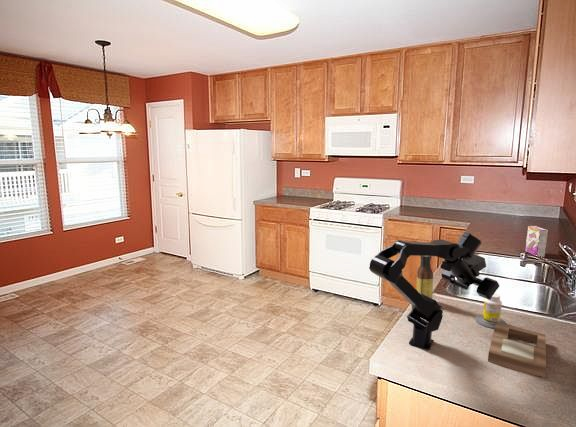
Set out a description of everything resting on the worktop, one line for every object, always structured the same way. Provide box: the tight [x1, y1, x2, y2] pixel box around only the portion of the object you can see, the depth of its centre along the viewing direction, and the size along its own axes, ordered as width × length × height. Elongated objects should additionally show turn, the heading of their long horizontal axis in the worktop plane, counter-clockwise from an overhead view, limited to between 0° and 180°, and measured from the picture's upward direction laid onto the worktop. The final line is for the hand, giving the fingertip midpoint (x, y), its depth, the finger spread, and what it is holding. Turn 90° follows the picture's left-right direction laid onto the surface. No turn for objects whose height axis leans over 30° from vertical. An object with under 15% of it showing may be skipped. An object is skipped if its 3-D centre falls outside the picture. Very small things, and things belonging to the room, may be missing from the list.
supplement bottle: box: [482, 292, 503, 324], centre depth 130 cm, size 6×6×10 cm
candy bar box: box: [524, 225, 549, 258], centre depth 212 cm, size 11×5×16 cm, turn 179°
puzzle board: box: [487, 323, 547, 379], centre depth 112 cm, size 22×14×4 cm, turn 145°
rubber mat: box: [474, 314, 508, 330], centre depth 132 cm, size 10×10×1 cm
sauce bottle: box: [416, 256, 434, 299], centre depth 148 cm, size 7×6×20 cm
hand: (478, 293), depth 126 cm, fingers open, 9 cm apart
